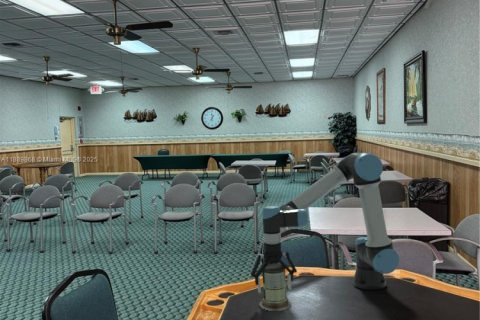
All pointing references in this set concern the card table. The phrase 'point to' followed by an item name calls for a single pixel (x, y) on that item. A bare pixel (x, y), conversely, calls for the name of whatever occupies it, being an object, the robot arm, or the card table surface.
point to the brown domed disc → (275, 305)
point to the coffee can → (274, 283)
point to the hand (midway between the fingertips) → (274, 290)
